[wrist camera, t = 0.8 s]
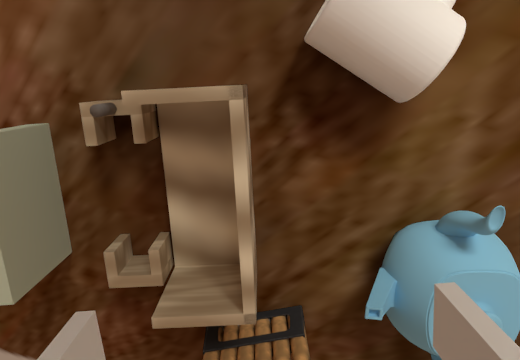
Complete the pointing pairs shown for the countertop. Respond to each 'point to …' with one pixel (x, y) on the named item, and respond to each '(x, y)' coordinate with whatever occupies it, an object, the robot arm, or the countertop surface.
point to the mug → (389, 41)
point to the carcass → (191, 203)
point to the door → (29, 210)
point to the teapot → (446, 274)
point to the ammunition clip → (260, 338)
